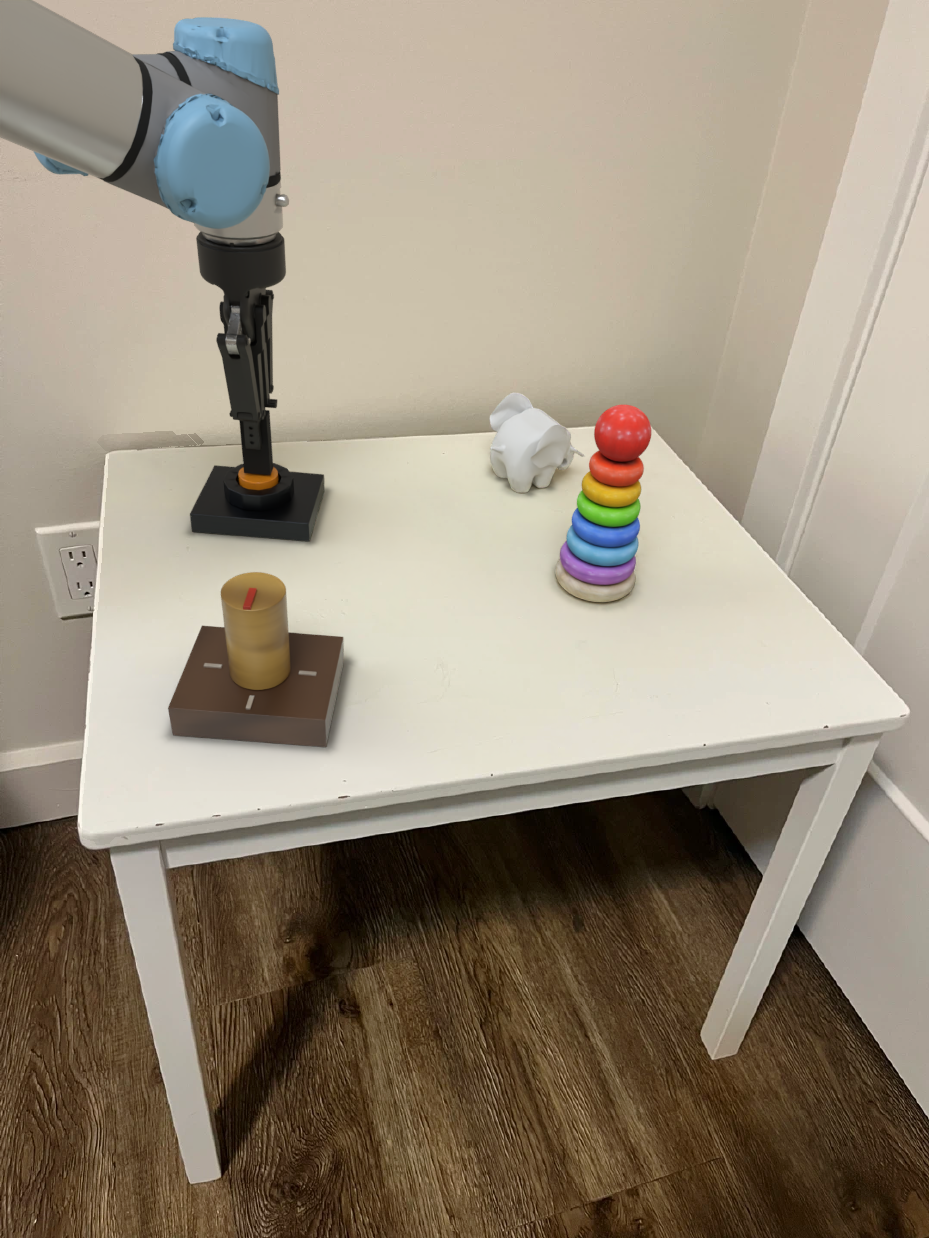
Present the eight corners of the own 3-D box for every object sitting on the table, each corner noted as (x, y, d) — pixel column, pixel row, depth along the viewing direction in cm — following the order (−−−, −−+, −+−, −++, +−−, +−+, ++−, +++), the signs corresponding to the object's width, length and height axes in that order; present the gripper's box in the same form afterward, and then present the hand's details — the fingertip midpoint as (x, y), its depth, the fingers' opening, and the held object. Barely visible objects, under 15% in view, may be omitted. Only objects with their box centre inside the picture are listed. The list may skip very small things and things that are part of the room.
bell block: (191, 532, 93) (187, 498, 90) (216, 482, 101) (212, 450, 98) (309, 541, 93) (308, 508, 91) (324, 491, 101) (323, 459, 98)
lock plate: (172, 735, 71) (167, 706, 69) (205, 651, 79) (201, 623, 77) (326, 747, 71) (325, 718, 69) (343, 662, 79) (343, 635, 77)
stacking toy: (649, 591, 91) (693, 419, 79) (589, 615, 87) (625, 439, 75) (597, 551, 96) (631, 384, 84) (538, 572, 92) (565, 400, 80)
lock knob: (236, 648, 75) (228, 566, 70) (295, 652, 75) (290, 571, 70) (223, 688, 71) (213, 604, 66) (284, 692, 71) (279, 609, 66)
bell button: (235, 498, 94) (234, 481, 92) (244, 478, 97) (243, 461, 96) (274, 501, 94) (273, 484, 93) (282, 481, 97) (281, 465, 96)
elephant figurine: (595, 486, 106) (608, 416, 101) (508, 507, 101) (517, 435, 96) (549, 449, 113) (559, 381, 107) (465, 467, 107) (471, 397, 102)
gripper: (268, 259, 74) (283, 506, 89) (296, 214, 84) (305, 443, 99) (175, 251, 74) (206, 500, 89) (215, 207, 84) (236, 437, 99)
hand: (258, 470), depth 94 cm, fingers closed
